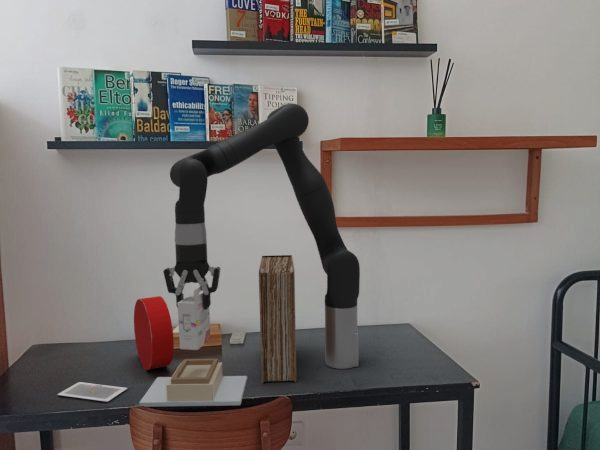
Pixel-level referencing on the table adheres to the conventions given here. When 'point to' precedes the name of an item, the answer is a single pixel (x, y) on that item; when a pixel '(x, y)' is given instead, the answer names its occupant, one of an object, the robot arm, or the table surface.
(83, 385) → the touchpad
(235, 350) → the table surface
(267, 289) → the book
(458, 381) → the table surface
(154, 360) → the toy clock
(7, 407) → the table surface
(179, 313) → the ink cartridge box
